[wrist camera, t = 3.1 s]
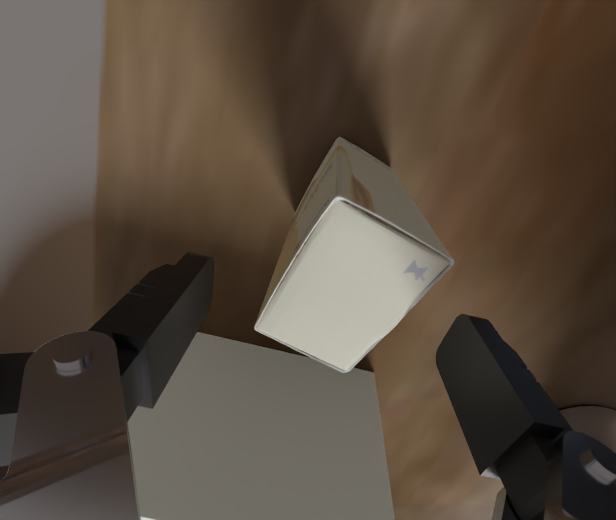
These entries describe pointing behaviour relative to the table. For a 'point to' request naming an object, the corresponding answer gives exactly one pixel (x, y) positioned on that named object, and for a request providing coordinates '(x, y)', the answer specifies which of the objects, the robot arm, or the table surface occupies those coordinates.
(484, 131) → the table surface
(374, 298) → the skincare box
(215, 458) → the white block with opening
